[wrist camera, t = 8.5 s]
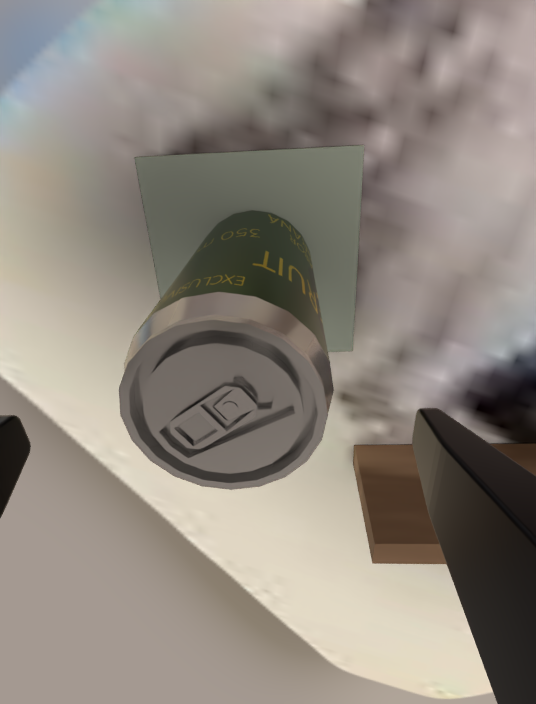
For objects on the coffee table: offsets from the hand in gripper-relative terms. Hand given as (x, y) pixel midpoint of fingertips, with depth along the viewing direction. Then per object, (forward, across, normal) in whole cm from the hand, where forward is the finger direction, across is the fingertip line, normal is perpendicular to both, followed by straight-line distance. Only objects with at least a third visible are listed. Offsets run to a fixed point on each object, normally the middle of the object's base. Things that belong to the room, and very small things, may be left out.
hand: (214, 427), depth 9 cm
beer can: (+13, 0, 0) cm, 13 cm away
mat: (+13, 0, 0) cm, 13 cm away
